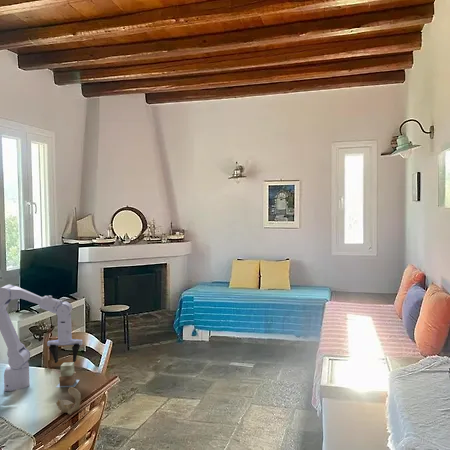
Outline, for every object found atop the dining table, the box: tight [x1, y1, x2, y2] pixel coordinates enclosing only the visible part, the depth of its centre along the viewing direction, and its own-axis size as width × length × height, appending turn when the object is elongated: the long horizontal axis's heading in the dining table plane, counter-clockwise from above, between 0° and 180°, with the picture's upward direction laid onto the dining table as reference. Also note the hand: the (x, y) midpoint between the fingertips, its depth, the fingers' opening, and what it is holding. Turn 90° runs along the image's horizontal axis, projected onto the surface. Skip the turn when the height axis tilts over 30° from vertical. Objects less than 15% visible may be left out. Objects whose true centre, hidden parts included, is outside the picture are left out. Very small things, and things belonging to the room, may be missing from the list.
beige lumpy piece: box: [56, 387, 82, 416], centre depth 168 cm, size 9×6×10 cm
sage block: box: [60, 361, 75, 377], centre depth 195 cm, size 4×4×4 cm
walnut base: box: [58, 371, 77, 386], centre depth 195 cm, size 6×6×4 cm
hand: (65, 361), depth 196 cm, fingers open, 7 cm apart
